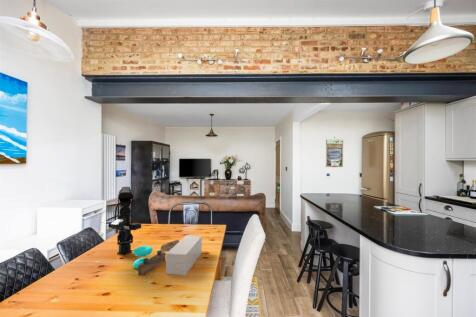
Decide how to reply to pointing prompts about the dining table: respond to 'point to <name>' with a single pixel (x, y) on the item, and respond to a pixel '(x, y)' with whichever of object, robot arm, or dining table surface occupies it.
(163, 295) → the dining table surface
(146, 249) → the donuts
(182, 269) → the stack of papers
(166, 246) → the wooden fragment
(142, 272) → the bar
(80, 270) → the dining table surface
